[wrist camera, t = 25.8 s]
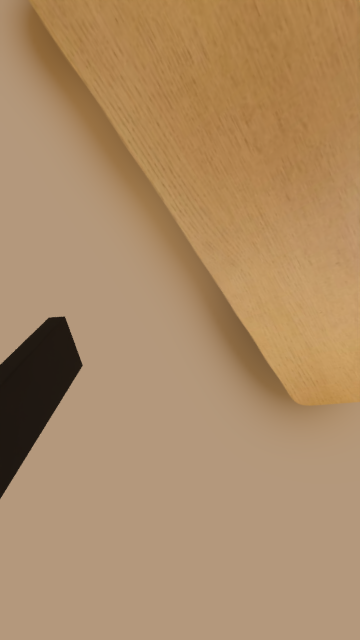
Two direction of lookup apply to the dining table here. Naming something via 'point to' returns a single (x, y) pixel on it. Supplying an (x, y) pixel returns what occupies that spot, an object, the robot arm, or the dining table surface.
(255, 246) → the dining table surface
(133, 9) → the dining table surface
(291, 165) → the dining table surface
